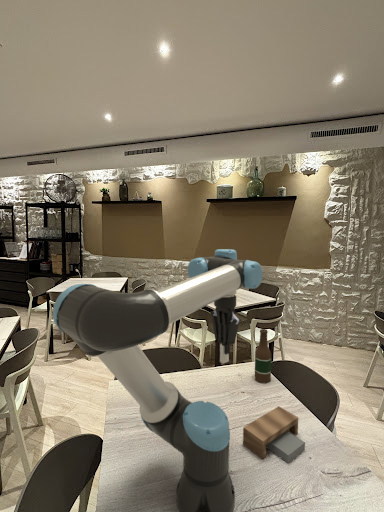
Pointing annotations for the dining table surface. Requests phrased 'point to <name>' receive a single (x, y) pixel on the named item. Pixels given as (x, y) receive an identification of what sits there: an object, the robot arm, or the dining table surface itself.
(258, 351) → the beer bottle
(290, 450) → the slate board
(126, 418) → the dining table surface
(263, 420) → the walnut arch bridge
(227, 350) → the robot arm
